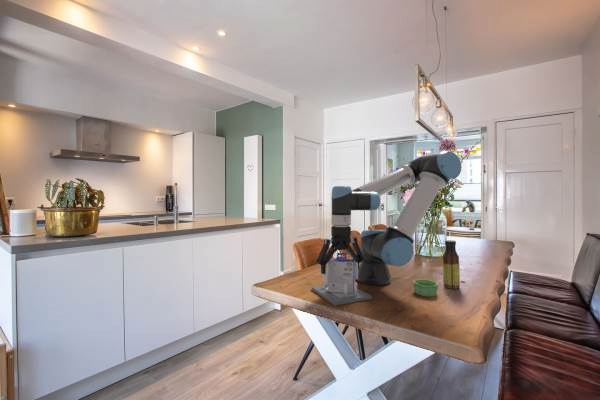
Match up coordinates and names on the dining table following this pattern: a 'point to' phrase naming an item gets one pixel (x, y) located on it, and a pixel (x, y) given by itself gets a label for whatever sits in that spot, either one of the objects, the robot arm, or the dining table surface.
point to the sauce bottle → (451, 266)
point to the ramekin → (425, 287)
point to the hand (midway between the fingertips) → (340, 280)
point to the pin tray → (341, 295)
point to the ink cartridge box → (340, 274)
